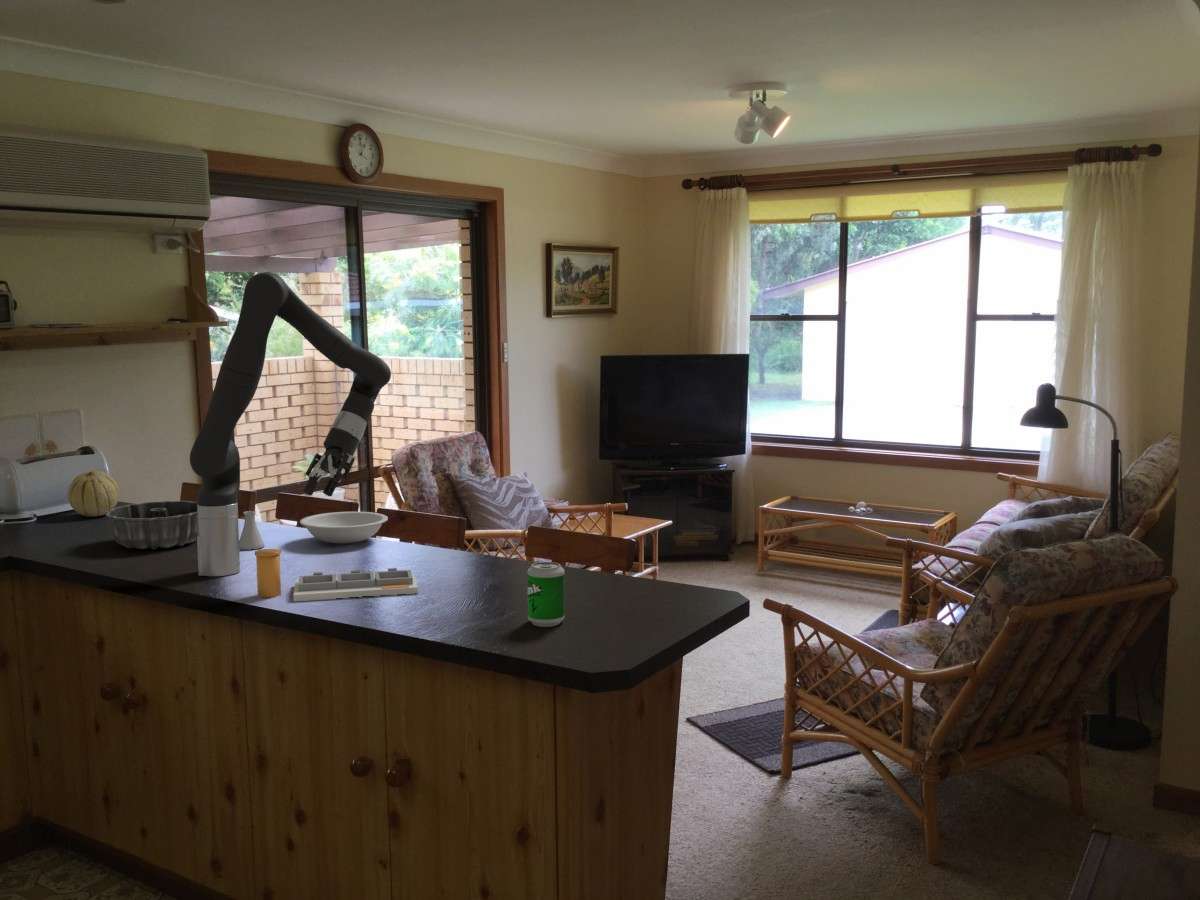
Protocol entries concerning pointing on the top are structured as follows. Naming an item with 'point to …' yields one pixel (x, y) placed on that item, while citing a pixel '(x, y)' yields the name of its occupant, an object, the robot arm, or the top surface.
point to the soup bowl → (344, 526)
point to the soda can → (546, 594)
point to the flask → (250, 533)
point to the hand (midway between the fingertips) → (316, 494)
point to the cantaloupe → (93, 493)
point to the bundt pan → (154, 524)
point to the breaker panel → (354, 585)
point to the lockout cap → (268, 572)
